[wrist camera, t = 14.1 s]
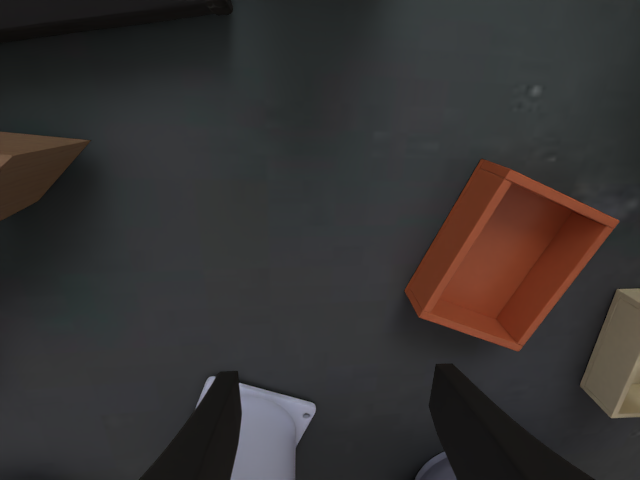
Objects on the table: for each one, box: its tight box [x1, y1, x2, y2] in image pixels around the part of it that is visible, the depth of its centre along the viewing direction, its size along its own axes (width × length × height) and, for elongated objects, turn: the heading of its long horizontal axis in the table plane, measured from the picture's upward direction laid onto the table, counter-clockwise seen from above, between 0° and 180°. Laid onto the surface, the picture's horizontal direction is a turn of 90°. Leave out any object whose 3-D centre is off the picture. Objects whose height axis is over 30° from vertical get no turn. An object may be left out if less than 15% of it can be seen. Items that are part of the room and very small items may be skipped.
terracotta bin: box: [404, 159, 619, 352], centre depth 20 cm, size 9×7×3 cm
